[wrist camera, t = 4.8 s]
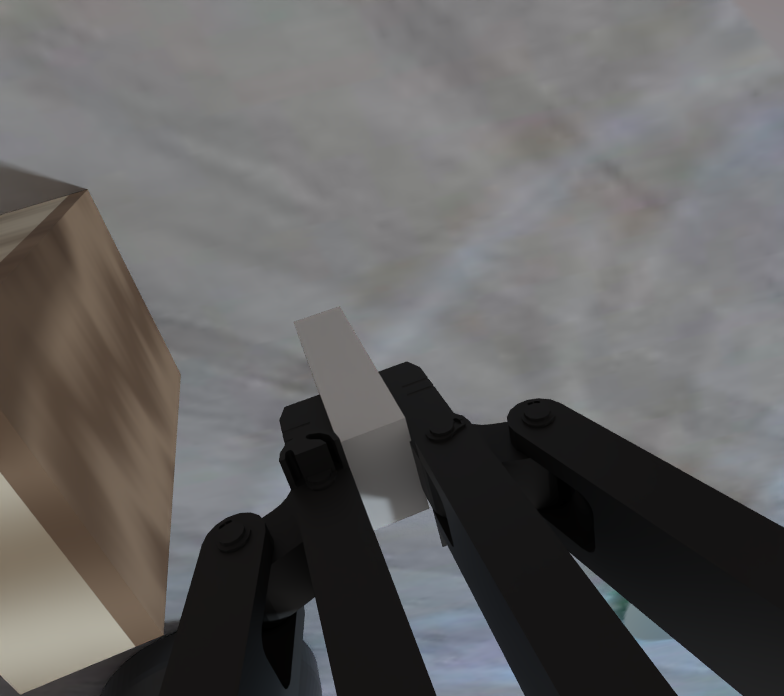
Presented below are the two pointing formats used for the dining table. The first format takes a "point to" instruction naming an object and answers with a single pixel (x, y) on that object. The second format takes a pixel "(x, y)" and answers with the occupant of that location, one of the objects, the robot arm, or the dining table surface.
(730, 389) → the dining table surface
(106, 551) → the birch plank
